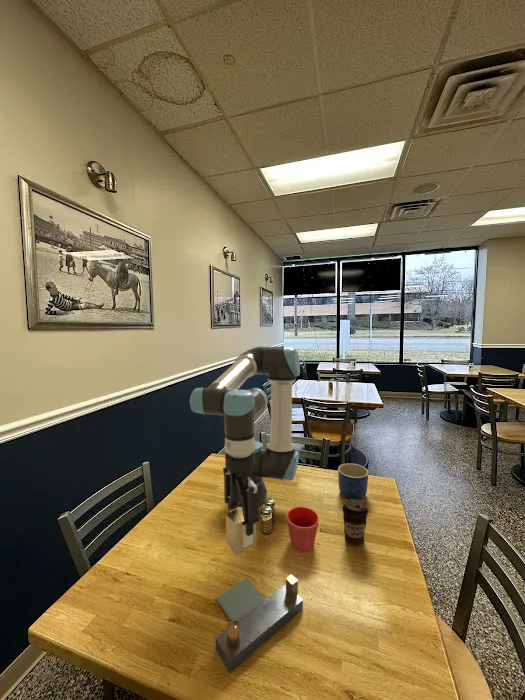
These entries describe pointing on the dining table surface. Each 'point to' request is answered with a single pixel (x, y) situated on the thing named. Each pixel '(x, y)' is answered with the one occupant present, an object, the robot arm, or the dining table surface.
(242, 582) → the mat
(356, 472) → the planter
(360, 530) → the coffee cup
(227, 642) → the plane body
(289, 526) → the flower pot
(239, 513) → the tan wooden block
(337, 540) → the dining table surface
